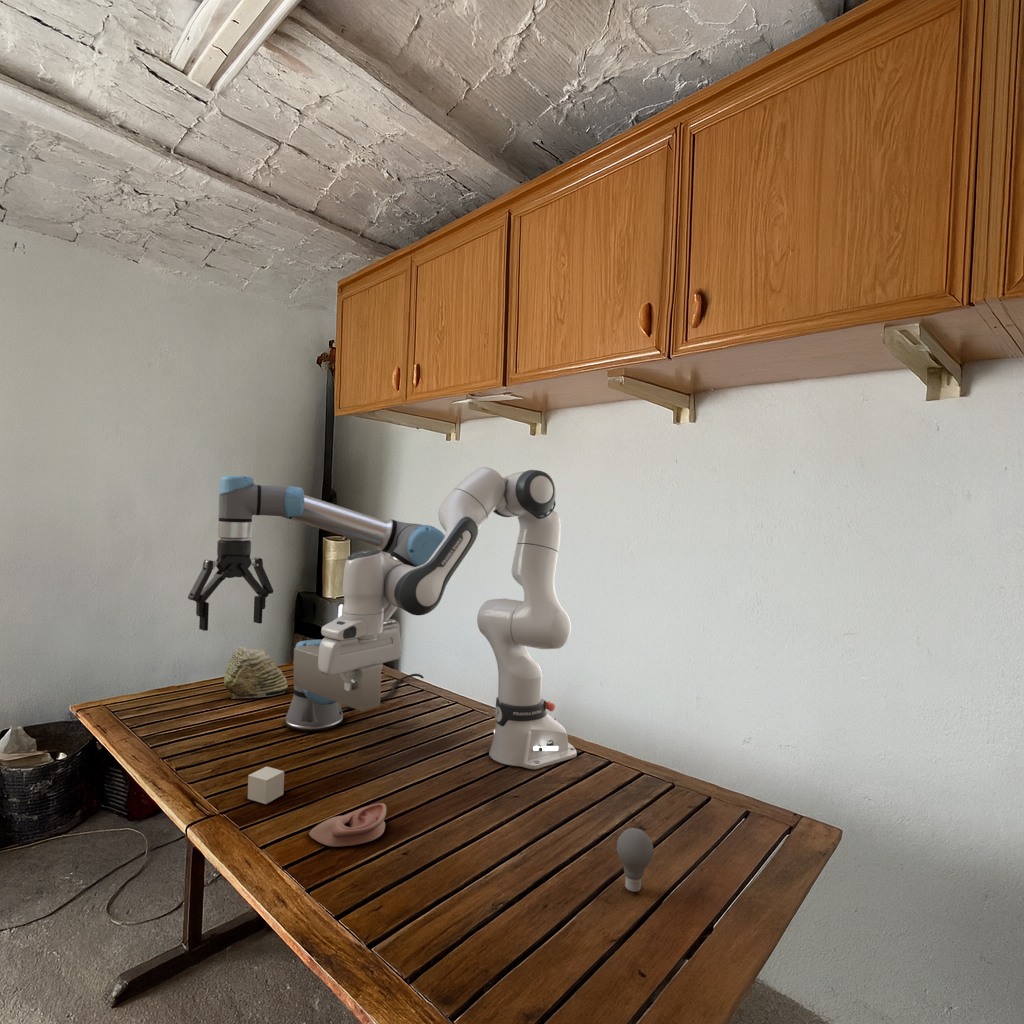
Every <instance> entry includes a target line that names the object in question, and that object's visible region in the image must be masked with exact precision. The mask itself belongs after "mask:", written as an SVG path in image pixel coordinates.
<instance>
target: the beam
mask: <svg viewBox="0 0 1024 1024" xmlns="http://www.w3.org/2000/svg"><path fill="white" fill-rule="evenodd" d="M318 656H319V647H318V646H315V645H307V646H302V647H297V648H296V647H294V648H293V679H292V681H293V687H294V686H297V687H299V688H302V689H304V690H307V691H310V692H312V693H315V694H317V695H320V696H323V697H325V698H328V699H330V700H333V701H336V702H338V703H340V705H343V706H349V707H351V708H350V709H354V710H357V711H360V712H366V711H369V710H371V709H375V708H378V707H381V700H380V697H381V695H382V694H381V693H382V692H381V691H382V690H381V689H382V670H381V665H378V664H373V665H369V666H365V667H361V668H358V669H356V670H352V671H351V676H349V677H350V679H351V681H353V682H355V689H354V690H351V691H346V690H345V688H344V685H345V682H344V681H343V679H342V677H341V676H340V674H336V675H332V676H328V675H325V674H323V673H321V672H320V670H319V668H318Z"/></svg>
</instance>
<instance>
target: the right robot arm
mask: <svg viewBox="0 0 1024 1024" xmlns="http://www.w3.org/2000/svg"><path fill="white" fill-rule="evenodd" d="M555 507H556V487H555V483H554V481H553V479H552V477H551V476H550V475H549V474H548V473H547V472H545V471H543V470H538V469H528V470H525V471H517V472H513V473H511V474H509V475H507V476H502V475H501V474H500V473H499V472H498V471H497V470H495V469H493V468H491V467H487V466H482V467H478V468H476V469H475V470H473V471H472V472H471V473H469V474H468V475H467V476H466V477H465V478H464V479H462V480H461V481H460V482H459V483H458V484H457V485H456V486H455V487H454V488H453V489H452V490H451V491H450V492H449V494H448V495H446V497H445V498H444V499H443V501H442V503H441V505H440V506H439V507H438V511H437V513H438V514H437V515H438V521H439V524H440V526H441V527H442V529H443V530H444V532H445V534H444V535H445V537H444V539H443V541H442V542H441V543H440V545H439V546H438V548H437V549H436V550H435V552H434V553H433V554H432V556H431V557H430V559H429V560H428V561H427V562H426V563H425V564H423V565H421V566H418V567H413V566H410V565H406V564H403V563H400V562H397V561H395V560H393V559H390V558H389V556H387V555H385V554H384V552H383V551H380V550H379V549H363V550H359V551H355V552H353V553H351V554H350V555H348V556H347V558H346V561H345V563H344V564H345V565H344V568H343V577H342V594H343V599H344V600H343V601H344V602H343V607H342V610H341V611H342V613H341V614H342V615H340V616H338V617H337V618H335V619H334V620H332V621H330V622H328V623H326V624H325V625H323V626H322V627H321V630H320V633H321V636H323V638H322V639H321V640H322V641H321V643H320V647H319V656H318V668H319V670H320V672H321V673H323V674H325V675H328V676H332V675H336V674H340V676H341V677H342V679H343V681H344V682H345V685H344V688H345V690H346V691H351V690H354V689H355V682H353V681H351V679H350V677H349V676H351V671H352V670H356V669H358V668H361V667H365V666H369V665H373V664H378V665H381V671H383V667H384V663H388V662H393V661H396V660H399V659H400V658H401V655H402V639H401V633H400V627H401V626H400V623H399V622H398V621H397V620H396V619H393V618H389V619H388V620H384V621H383V616H384V606H385V605H388V604H391V605H393V606H396V607H397V608H399V609H402V610H403V611H405V612H406V613H409V614H410V615H413V616H425V615H427V614H430V613H431V612H432V611H434V610H435V609H436V608H437V606H438V605H439V604H440V602H441V600H442V598H443V596H444V592H445V590H446V588H447V585H448V583H449V581H450V580H451V578H452V576H453V575H454V574H455V572H456V571H457V569H458V568H459V567H460V565H461V563H462V562H463V561H464V559H465V558H466V556H467V555H468V553H469V552H470V550H471V548H473V545H474V544H475V541H476V539H477V537H478V534H479V530H480V529H481V528H482V527H483V525H484V524H485V523H486V521H488V519H489V518H490V516H491V515H492V514H495V515H497V516H499V517H503V518H512V517H513V518H515V517H517V520H518V524H519V533H518V536H517V540H516V545H515V550H514V555H513V560H512V565H511V576H512V578H513V579H514V581H516V583H517V584H518V585H519V586H521V587H522V589H523V597H524V598H523V600H518V599H511V598H504V597H503V598H493V599H488V600H485V602H483V604H482V605H481V606H480V608H479V610H478V611H477V617H476V623H477V628H478V630H479V632H480V633H481V634H482V635H483V637H484V638H485V639H486V641H488V643H489V645H490V648H491V649H492V651H493V654H494V657H495V661H496V665H497V679H498V680H497V697H496V699H495V709H494V710H495V711H494V714H495V715H494V718H495V726H494V730H493V738H492V741H491V745H490V748H489V751H488V755H489V757H490V758H491V760H493V761H495V762H496V763H499V764H503V765H507V766H511V767H521V768H525V769H528V770H538V769H541V768H544V767H548V766H551V765H555V764H558V763H561V762H564V761H568V760H572V759H574V758H577V756H578V753H577V749H576V748H575V747H574V745H572V744H571V742H569V737H568V732H567V730H566V728H565V727H564V726H563V725H562V724H561V723H560V722H559V721H557V719H556V718H554V717H552V716H551V715H550V714H549V713H548V711H549V712H554V711H555V709H556V705H555V704H554V703H553V702H551V701H547V700H545V699H544V698H542V697H543V696H542V693H543V670H542V668H541V666H540V664H539V663H538V662H537V661H536V660H535V659H533V657H532V656H531V655H530V653H529V650H528V648H533V649H536V650H558V649H559V650H560V649H561V648H563V647H564V646H565V645H566V644H567V642H568V641H569V639H570V638H571V637H570V636H571V633H572V622H571V618H570V616H569V614H568V613H567V611H566V610H565V609H564V608H563V607H562V605H561V603H560V602H559V599H558V596H557V592H556V586H555V578H556V570H557V563H558V557H559V552H560V546H561V532H562V531H561V529H562V526H561V523H562V522H561V516H560V515H559V514H558V513H557V511H555V510H554V509H555ZM547 710H548V711H547Z"/></svg>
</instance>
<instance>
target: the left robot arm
mask: <svg viewBox="0 0 1024 1024" xmlns="http://www.w3.org/2000/svg"><path fill="white" fill-rule="evenodd" d="M218 492H219V493H218V521H217V526H218V527H217V537H218V538H219V539H218V540H217V547H216V550H217V551H216V554H217V558H216V560H210V559H204V560H203V562H202V569H201V571H200V573H199V574H198V577H197V578H196V580H195V582H194V584H193V586H192V587H191V590H190V592H189V594H188V596H187V599H188V600H190V601H194V602H195V603H196V610H195V614H196V616H197V617H199V625H198V629H199V630H201V631H203V632H206V631H209V611H210V609H209V607H210V604H209V603H210V602H208V601H207V600H208V599H209V598H210V597H211V595H212V594H213V593H214V592H215V590H217V588H218V587H219V586H220V584H221V583H222V582H223V581H225V580H226V578H227V579H233V578H243V579H244V580H245V581H246V583H247V584H248V585H249V586H250V587H251V589H252V590H253V591H254V592H255V593H256V595H255V596H253V597H254V599H253V600H254V601H253V623H256V624H263V610H265V609H266V604H267V603H266V602H267V600H266V599H267V598H268V597H269V595H270V594H271V595H272V594H273V593H274V588H273V586H272V584H271V582H270V580H269V577H268V575H267V572H266V570H265V568H264V561H263V558H261V557H257V556H254V558H251V553H252V541H251V540H250V539H251V538H252V537H253V536H252V535H253V529H252V527H253V523H252V522H253V516H270V517H282V518H283V519H288V520H291V521H294V522H298V523H301V524H305V525H308V526H311V527H314V528H316V529H321V530H324V531H327V532H331V533H334V534H337V535H340V536H343V537H346V538H349V539H353V540H356V541H359V542H363V543H367V544H369V545H373V546H375V547H377V550H379V551H381V552H382V553H385V554H389V556H388V557H389V558H390V559H393V560H395V561H397V562H400V563H403V564H406V565H410V566H413V567H418V566H421V565H423V564H425V563H426V562H427V561H428V560H429V559H430V557H431V556H432V554H433V553H434V552H435V550H436V549H437V548H438V546H439V545H440V543H441V542H442V541H443V539H444V537H445V535H446V534H444V532H443V531H442V530H440V529H438V528H437V527H435V526H433V525H429V524H420V523H413V522H412V523H411V522H404V521H399V520H395V519H392V518H388V519H387V520H384V519H381V518H377V517H375V516H372V515H368V514H365V513H362V512H359V511H356V510H353V509H349V508H348V507H347V508H346V507H343V506H340V505H338V504H334V503H332V502H328V501H325V500H322V499H318V498H316V497H312V496H309V495H306V494H305V492H304V489H303V488H302V487H300V486H293V485H260V484H255V481H254V477H252V476H246V475H244V476H243V475H223V476H222V477H221V478H220V481H219V491H218ZM251 566H252V567H253V569H254V572H255V574H256V576H257V579H258V580H257V579H256V578H255V577H254V575H253V573H252V572H251V571H250V570H249V568H250V567H251ZM215 568H217V570H216V572H215V573H214V574H213V577H212V578H211V579H210V580H209V578H210V576H211V574H212V572H213V570H214V569H215ZM208 581H209V582H208ZM207 582H208V583H207ZM397 609H398V607H396V606H393V605H391V604H388V605H385V606H384V616H383V621H384V620H390V619H391V617H392V616H393V614H394V613H395V612H396V611H397ZM321 641H322V639H307V640H301V641H298V642H297V643H296V644H295V648H297V647H302V646H307V645H315V646H318V647H320V643H321ZM412 677H419V678H420V679H424V678H425V677H424V676H423V675H422V674H421V673H411V674H408V675H405V676H403V677H400V678H398V679H396V680H395V681H394V683H393V686H392V687H391V690H390V692H389V693H388V694H386V695H383V696H380V701H383V700H385V699H387V698H390V697H391V696H392V695H393V694H394V693H395V692H394V691H395V689H396V687H397V684H398V683H399V682H403V681H404V680H406V679H409V678H412ZM292 696H293V697H292V699H291V702H290V704H289V708H288V710H287V711H286V712H285V726H286V728H287V729H289V730H291V731H294V732H295V731H296V732H301V733H316V732H325V731H329V730H332V729H335V728H337V727H339V726H340V725H342V723H343V722H344V714H343V710H348V709H352V708H351V707H349V706H346V705H343V706H341V703H338V702H336V701H333V700H330V699H328V698H325V697H323V696H320V695H317V694H315V693H312V692H310V691H307V690H304V689H302V688H299V687H297V686H294V685H293V695H292Z"/></svg>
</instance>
